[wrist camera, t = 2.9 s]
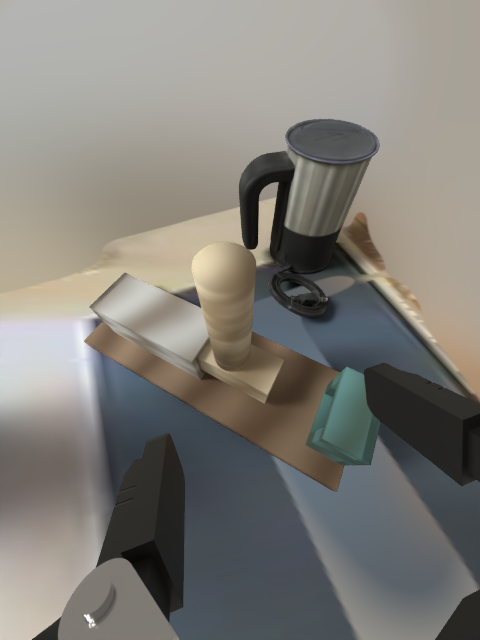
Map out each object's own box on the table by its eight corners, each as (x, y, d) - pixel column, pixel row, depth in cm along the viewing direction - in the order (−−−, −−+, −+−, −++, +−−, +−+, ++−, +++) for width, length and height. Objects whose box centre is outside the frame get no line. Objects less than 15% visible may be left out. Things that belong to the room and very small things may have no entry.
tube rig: (90, 346, 28) (50, 315, 22) (146, 287, 33) (124, 248, 27) (331, 490, 21) (366, 499, 15) (360, 388, 26) (395, 365, 20)
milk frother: (308, 224, 40) (339, 110, 27) (378, 292, 32) (465, 179, 20) (230, 253, 36) (223, 139, 24) (288, 336, 29) (324, 235, 16)
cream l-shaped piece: (120, 325, 27) (15, 204, 15) (139, 303, 29) (60, 177, 16) (264, 403, 23) (291, 326, 10) (279, 372, 24) (318, 272, 12)
